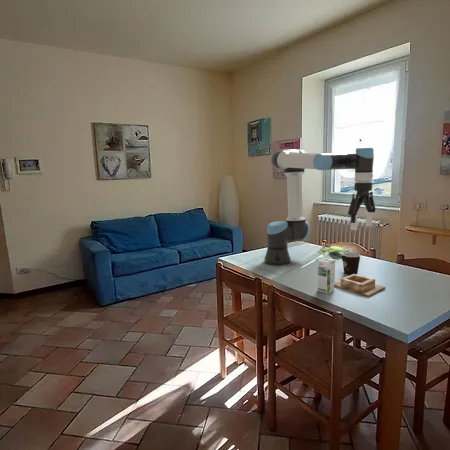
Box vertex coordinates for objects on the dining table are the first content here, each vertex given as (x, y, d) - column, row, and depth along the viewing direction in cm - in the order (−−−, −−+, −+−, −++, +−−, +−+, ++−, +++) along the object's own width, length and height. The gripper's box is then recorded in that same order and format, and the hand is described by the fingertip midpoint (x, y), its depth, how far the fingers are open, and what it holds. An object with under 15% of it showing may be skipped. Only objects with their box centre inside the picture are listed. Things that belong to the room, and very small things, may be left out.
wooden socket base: (331, 285, 152) (331, 277, 152) (348, 279, 160) (349, 271, 160) (368, 297, 138) (368, 288, 137) (385, 289, 146) (385, 280, 146)
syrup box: (316, 291, 146) (317, 259, 144) (322, 287, 151) (323, 256, 148) (328, 294, 142) (329, 262, 140) (334, 290, 147) (335, 259, 144)
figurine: (316, 260, 194) (316, 251, 193) (319, 249, 219) (319, 241, 218) (349, 262, 188) (350, 253, 187) (348, 251, 213) (349, 242, 212)
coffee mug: (361, 276, 163) (362, 257, 162) (342, 276, 165) (343, 256, 163) (356, 269, 174) (357, 251, 173) (339, 269, 176) (340, 250, 174)
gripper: (356, 183, 139) (354, 232, 143) (384, 180, 155) (382, 225, 158) (340, 183, 145) (339, 230, 149) (369, 180, 161) (367, 223, 164)
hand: (361, 227), depth 154 cm, fingers open, 13 cm apart
